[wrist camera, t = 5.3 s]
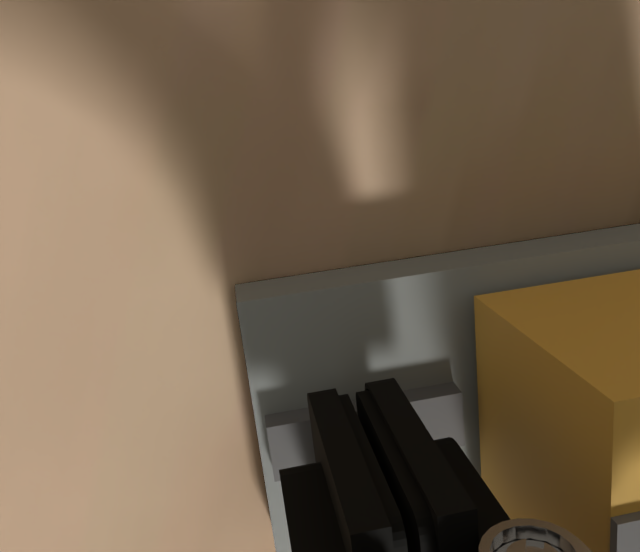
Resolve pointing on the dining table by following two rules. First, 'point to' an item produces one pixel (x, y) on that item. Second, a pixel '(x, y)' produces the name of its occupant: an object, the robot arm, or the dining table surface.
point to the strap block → (564, 405)
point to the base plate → (393, 337)
